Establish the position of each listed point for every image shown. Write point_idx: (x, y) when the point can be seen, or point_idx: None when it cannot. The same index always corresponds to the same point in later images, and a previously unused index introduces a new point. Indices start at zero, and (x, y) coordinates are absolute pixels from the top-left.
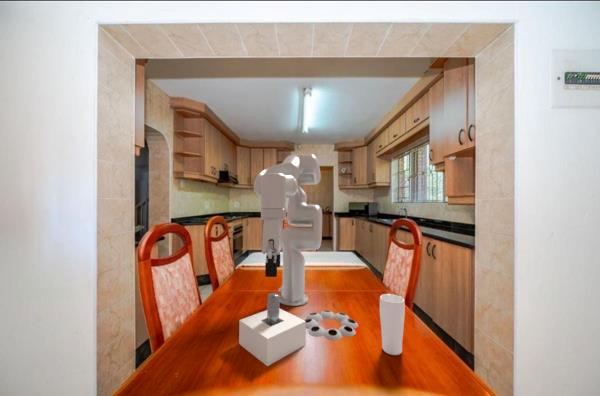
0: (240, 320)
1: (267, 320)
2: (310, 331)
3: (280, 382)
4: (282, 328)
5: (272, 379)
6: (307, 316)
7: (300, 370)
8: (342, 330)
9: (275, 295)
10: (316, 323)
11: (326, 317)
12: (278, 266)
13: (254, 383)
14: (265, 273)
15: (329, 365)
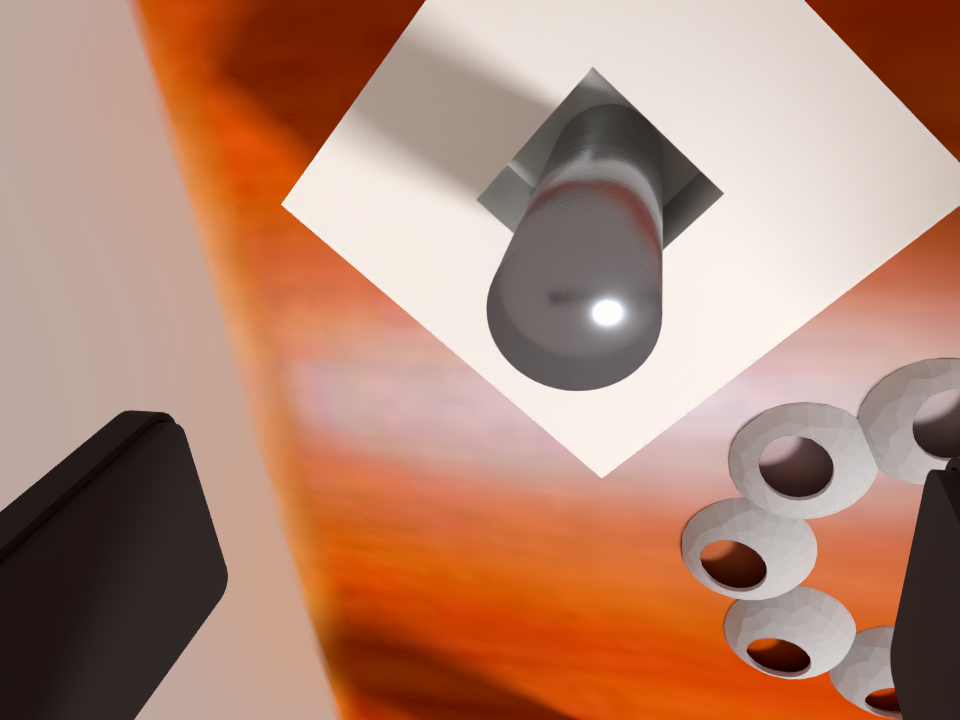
0: None
1: (560, 153)
2: (777, 427)
3: (253, 247)
4: (455, 303)
5: (263, 201)
6: None
7: (363, 344)
8: (765, 621)
9: (549, 340)
10: (911, 480)
11: None
12: (894, 648)
13: (209, 103)
14: (94, 438)
15: (428, 484)
